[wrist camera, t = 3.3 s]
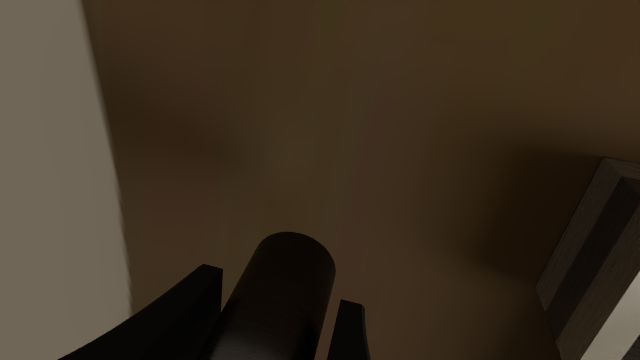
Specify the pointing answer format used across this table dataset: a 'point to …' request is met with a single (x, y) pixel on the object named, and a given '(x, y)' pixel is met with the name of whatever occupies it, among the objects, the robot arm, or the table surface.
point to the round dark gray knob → (275, 303)
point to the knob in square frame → (598, 271)
